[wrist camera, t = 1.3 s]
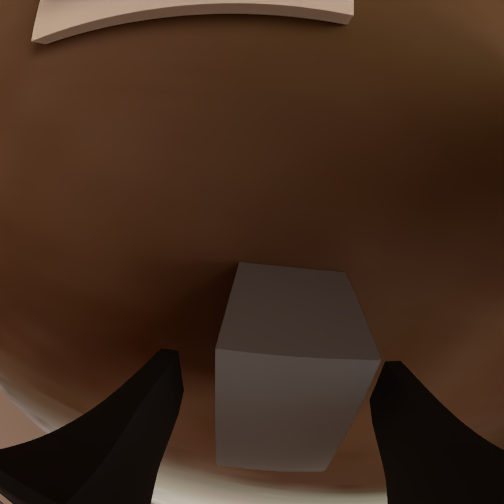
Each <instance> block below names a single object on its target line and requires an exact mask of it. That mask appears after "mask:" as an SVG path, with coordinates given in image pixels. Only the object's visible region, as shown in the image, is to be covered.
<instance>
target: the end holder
mask: <svg viewBox="0 0 504 504" xmlns="http://www.w3.org/2000/svg"><path fill="white" fill-rule="evenodd" d="M201 14H263V15H278V16H290V17H299V18H307V19H315V20H322V21H328V22H334V23H340V24H345V25H347V24H348V23H349V21H350V20H351V18H352V17H353V16H354V0H40V3H39V7H38V11H37V15H36V20H35V24H34V29H33V34H32V39H31V41H32V42H37V43H42V44H48V43H51V42H54V41H57V40H60V39H64V38H67V37H70V36H74V35H77V34H81V33H85V32H88V31H92V30H97V29H101V28H105V27H110V26H115V25H120V24H125V23H130V22H136V21H142V20H149V19H157V18H165V17H174V16H186V15H201Z"/></svg>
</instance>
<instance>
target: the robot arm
mask: <svg viewBox="0 0 504 504" xmlns="http://www.w3.org/2000/svg"><path fill="white" fill-rule="evenodd" d="M183 392H184V388H183V382H182V375H181V368H180V361H179V354H178V351H175V350H168V349H160V350H159V351H158V352H157V353H156V354H155V355H154V356H153V357H152V358H151V359H150V360H149V361H148V362H147V363H146V364H145V365H144V366H143V367H142V368H141V369H139V370H138V371H137V372H136V373H135V374H134V375H133V376H132V377H131V378H130V379H129V380H128V381H126V382H125V383H124V384H123V385H122V386H121V387H120V388H119V389H117V390H116V391H115V392H114V393H112V394H111V395H110V396H109V397H108V398H106V399H105V400H104V401H103V402H101V403H100V404H98V405H97V406H96V407H94V408H93V409H91V410H90V411H88V412H87V413H85V414H84V415H82V416H81V417H79V418H77V419H76V420H74V421H72V422H71V423H69V424H67V425H65V426H63V427H61V428H59V429H57V430H55V431H53V432H51V433H49V434H46V435H44V436H42V437H39V438H37V439H34V440H31V441H28V442H25V443H22V444H19V445H15V446H12V447H8V448H4V449H0V494H2V495H3V496H4V497H5V498H7V499H8V500H9V501H10V502H12V503H13V504H151V499H152V494H153V489H154V485H155V481H156V476H157V472H158V469H159V466H160V462H161V460H162V457H163V454H164V452H165V449H166V446H167V444H168V441H169V438H170V436H171V433H172V430H173V428H174V425H175V422H176V419H177V417H178V413H179V409H180V405H181V401H182V396H183ZM370 407H371V416H372V423H373V427H374V431H375V435H376V439H377V443H378V447H379V451H380V455H381V459H382V464H383V468H384V472H385V478H386V486H387V498H388V504H504V450H502V449H501V448H499V447H497V446H495V445H494V444H492V443H490V442H489V441H487V440H486V439H484V438H482V437H481V436H480V435H478V434H477V433H475V432H474V431H473V430H471V429H470V428H469V427H467V426H466V425H465V424H464V423H462V422H461V421H460V420H459V419H458V418H456V417H455V416H454V415H453V414H452V413H451V412H450V411H449V410H448V409H447V408H446V407H445V406H443V405H442V404H441V403H440V402H439V401H438V400H437V399H436V398H435V397H434V396H433V395H432V394H431V393H430V391H429V390H428V389H427V388H426V387H425V386H424V385H423V384H422V383H421V382H420V381H419V380H418V379H417V378H416V377H415V376H414V375H413V373H412V372H411V371H410V370H409V369H408V368H407V367H406V366H405V365H404V364H403V363H402V362H401V361H387V362H385V363H384V366H383V368H382V371H381V373H380V376H379V378H378V381H377V383H376V386H375V388H374V390H373V393H372V395H371V397H370ZM0 504H3V503H2V502H1V501H0Z"/></svg>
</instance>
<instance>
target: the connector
mask: <svg viewBox="0 0 504 504" xmlns="http://www.w3.org/2000/svg"><path fill="white" fill-rule="evenodd" d="M380 361H381V358H380V356H379V353H378V350H377V348H376V345H375V342H374V340H373V337H372V335H371V332H370V329H369V327H368V324H367V322H366V319H365V317H364V314H363V312H362V310H361V307H360V305H359V302H358V300H357V297H356V295H355V293H354V290H353V288H352V286H351V283H350V281H349V279H348V276H347V274H346V272H337V271H326V270H316V269H305V268H295V267H285V266H275V265H265V264H255V263H245V262H239V265H238V268H237V272H236V275H235V279H234V283H233V286H232V290H231V293H230V297H229V300H228V304H227V308H226V311H225V315H224V319H223V322H222V326H221V329H220V333H219V337H218V340H217V344H216V348H215V425H216V465H220V466H228V467H236V468H245V469H256V470H270V471H292V472H324V471H325V470H326V468H327V466H328V465H329V463H330V461H331V460H332V458H333V456H334V455H335V453H336V451H337V449H338V448H339V446H340V444H341V442H342V440H343V439H344V437H345V435H346V433H347V431H348V429H349V427H350V425H351V424H352V422H353V420H354V418H355V416H356V414H357V412H358V410H359V408H360V406H361V404H362V402H363V399H364V397H365V395H366V393H367V391H368V389H369V387H370V384H371V382H372V380H373V378H374V375H375V373H376V371H377V368H378V366H379V364H380Z"/></svg>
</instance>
